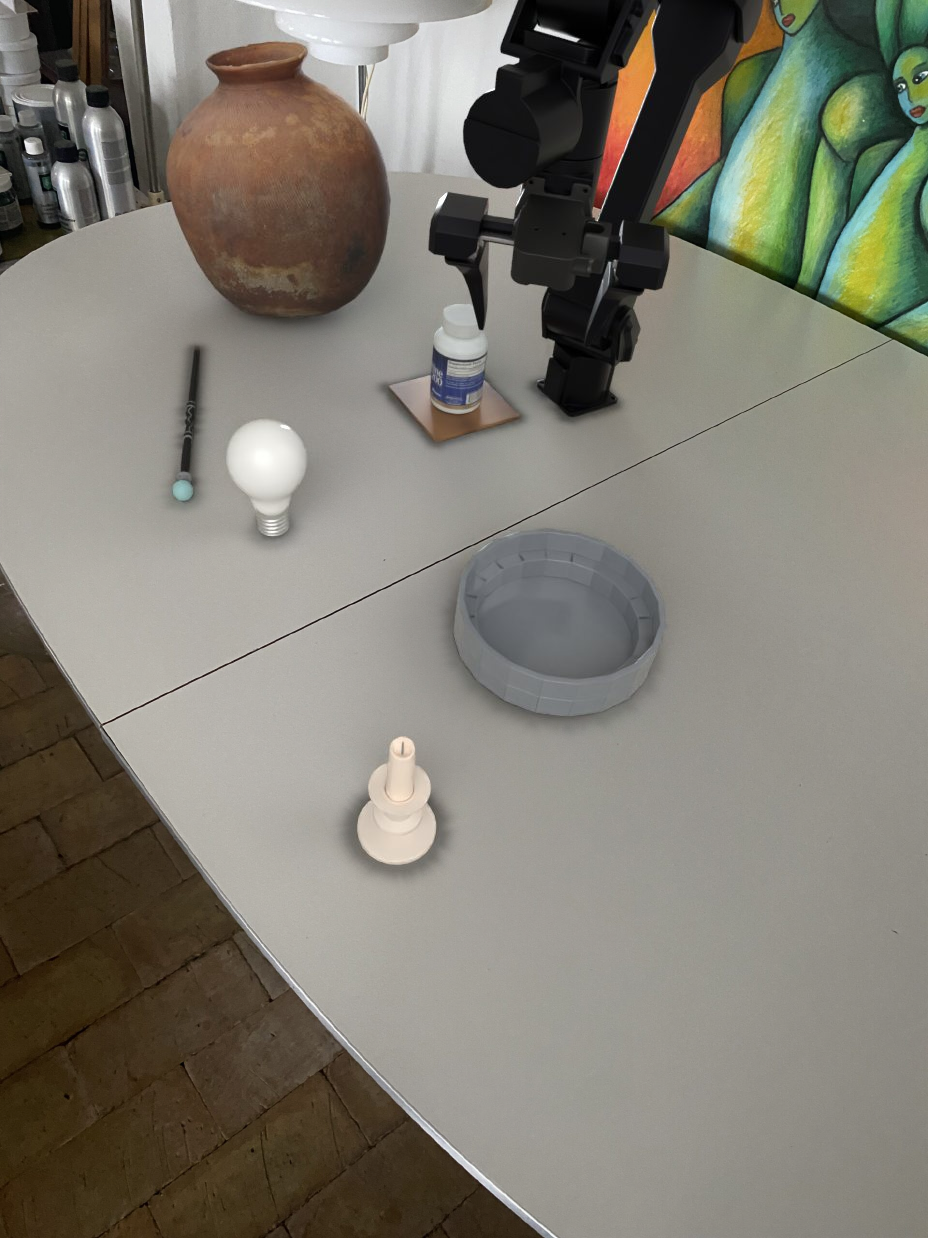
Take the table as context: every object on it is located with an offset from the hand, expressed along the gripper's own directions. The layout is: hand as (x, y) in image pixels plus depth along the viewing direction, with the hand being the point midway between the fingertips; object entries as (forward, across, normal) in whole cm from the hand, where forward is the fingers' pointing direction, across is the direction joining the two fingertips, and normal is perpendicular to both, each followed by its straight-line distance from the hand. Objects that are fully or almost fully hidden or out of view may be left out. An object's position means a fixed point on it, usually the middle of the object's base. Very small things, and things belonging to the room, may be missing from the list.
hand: (533, 336), depth 76 cm
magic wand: (+13, -32, -3) cm, 34 cm away
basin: (+13, +6, -23) cm, 27 cm away
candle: (+13, -3, -42) cm, 44 cm away
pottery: (+13, -29, +22) cm, 39 cm away
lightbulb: (+13, -19, -16) cm, 28 cm away
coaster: (+13, -7, +7) cm, 16 cm away
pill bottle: (+13, -7, +7) cm, 16 cm away
